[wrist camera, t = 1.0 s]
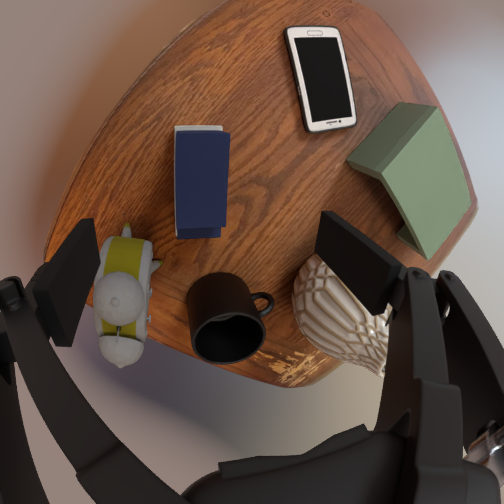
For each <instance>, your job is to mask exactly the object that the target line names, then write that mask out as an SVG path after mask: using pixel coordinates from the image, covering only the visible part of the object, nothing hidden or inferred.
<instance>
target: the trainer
mask: <svg viewBox="0 0 504 504" xmlns="http://www.w3.org/2000/svg"><path fill="white" fill-rule="evenodd" d="M222 130H223V126H214V125H186V126H175V138H174V202H175V231H176V236H177V239H196V238H217V237H221V227H226V209H227V187H228V167H229V149H230V134H229V133H226V132H223V131H222Z"/></svg>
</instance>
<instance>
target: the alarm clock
mask: <svg viewBox="0 0 504 504" xmlns="http://www.w3.org/2000/svg"><path fill="white" fill-rule="evenodd" d="M152 248H153V245H152V243H151V242H150V241H146V240H145V239H138V238H132V237H131V229H130V224H129V223H125V225H124V228H123V231H122V235H121V236H110V237H109V238H107V239H106V240H105V242H104V243H103V246H102V248H101V251H100V260H101V264H100V267H99V269H98V271H97V274H96V276H95V281H94V293H93V309H94V321H95V327H96V331H97V333H98V335H99V338H98V344H99V349H100V351H101V353H102V354H103V356H104V357H105V358H106V359H107V360H108V361H109V362H111V363H113V364H115V365H116V366H117V367H118V368H123V366H127V365H130V364H133V363H135V362H136V361H137V360H138V359H139V358H140V356H141V354H142V351H143V347H144V344H143V343H144V342H145V340H146V336H147V329H146V328H147V320H149V323H150V317H151V315H150V314H149V317H147V312H148V303H149V298H150V297H152V288H151V291H149V288H150V278H151V274H152V273H153V272H154V271H155V270H156V269H157V268H159V267H160V266H161V265H162V264H163V261H162V260H156V261H152V259H153V253H152Z"/></svg>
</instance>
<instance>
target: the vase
mask: <svg viewBox="0 0 504 504" xmlns="http://www.w3.org/2000/svg"><path fill="white" fill-rule="evenodd" d="M392 308H393V307H392V306H391V305H390V304H389V303H388V305H387V307H386V310H385V312H384V314H380V315H376V316H372V315H371V314H370V313H369V312H368V311H367V309H366V308H365V307H364V306H363V305H362V304H361V303H360V301H359V300H358V299H357V298H356V297H355V296H354V295H353V294H352V292H351V291H350V290H349V289H348V288H347V287H346V286H345V285H344V283H343V282H342V281H341V280H340V279H339V278H338V277H337V276H336V275H335V273H334V272H333V271H332V270H331V269H330V268H329V267H328V266H327V265H326V264H325V263H324V261H323V260H322V259H321V258H320V257H319V256H318V255H317V254H316V253H315V254H314V255H312V256H311V257H310V258H309V259H308V260H307V261H306V262H305V263H304V265H303V266H302V267H301V269H300V270H299V272H298V274H297V276H296V279H295V282H294V285H293V290H292V309H293V313H294V317H295V320H296V322H297V325H298V327H299V329H300V331H301V332H302V334H303V335H304V336H305V337H306V338H307V339H308V340H309V341H310V342H311V343H312V344H313V345H314V346H315V347H316V348H318V349H319V350H320V351H322V352H323V353H325V354H327V355H328V356H331V357H333V358H335V359H338V360H341V361H344V362H347V363H352V364H356V365H360V366H363V367H365V368H367V369H368V370H370V371H371V372H373V373H375V374H376V375H377V376H379V377H384V375H385V367H386V358H387V348H388V336H389V324H388V325H387V327H386V326H385V324H386V321H387V319H388V317H389V315H390V312H391V310H392Z"/></svg>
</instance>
